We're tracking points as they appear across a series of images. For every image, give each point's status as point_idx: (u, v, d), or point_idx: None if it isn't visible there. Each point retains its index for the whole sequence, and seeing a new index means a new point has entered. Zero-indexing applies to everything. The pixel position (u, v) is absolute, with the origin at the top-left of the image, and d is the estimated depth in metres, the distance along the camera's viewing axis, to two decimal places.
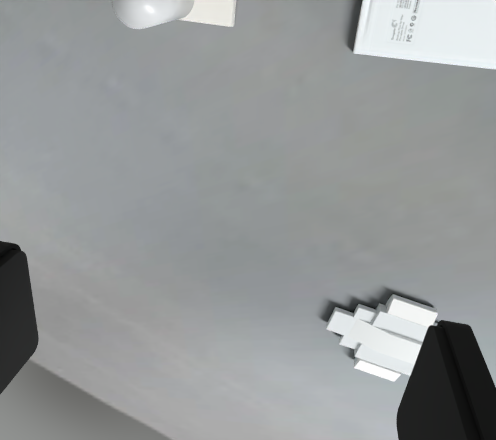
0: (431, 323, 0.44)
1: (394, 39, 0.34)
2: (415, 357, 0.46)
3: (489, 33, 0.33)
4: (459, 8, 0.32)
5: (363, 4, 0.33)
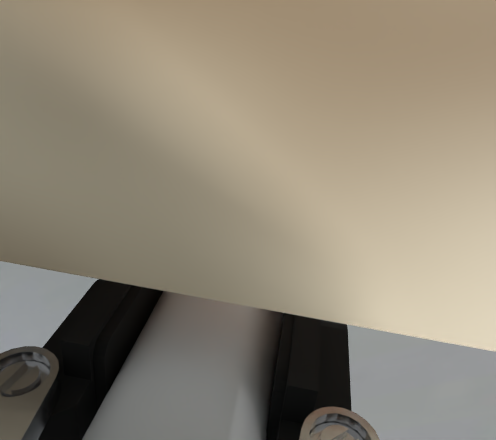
0: None
1: None
2: None
3: None
4: None
5: None
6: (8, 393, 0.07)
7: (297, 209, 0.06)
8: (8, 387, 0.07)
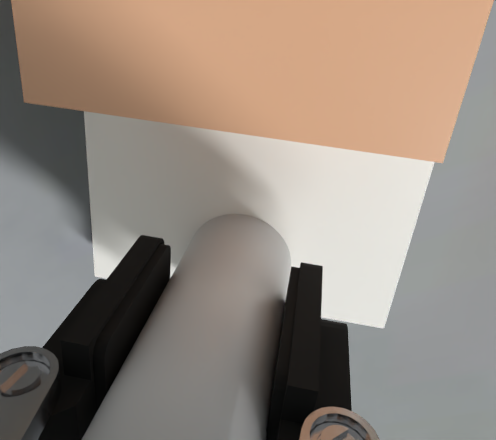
0: None
1: None
2: None
3: None
4: None
5: None
6: (8, 393, 0.07)
7: None
8: (8, 387, 0.07)
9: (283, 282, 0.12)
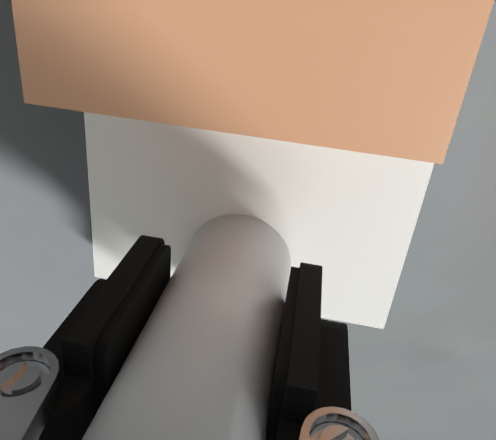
0: None
1: None
2: None
3: None
4: None
5: None
6: (8, 393, 0.07)
7: None
8: (8, 387, 0.07)
9: (283, 283, 0.12)
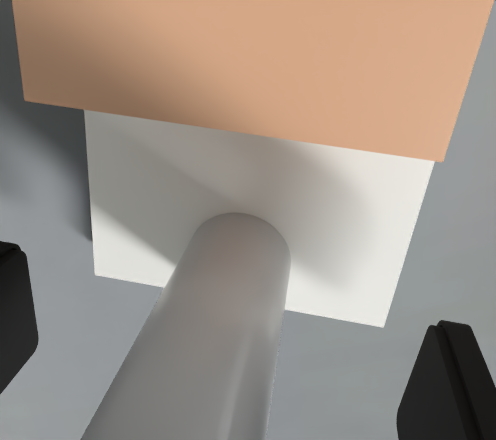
0: None
1: None
2: None
3: None
4: None
5: None
6: None
7: None
8: None
9: (283, 281, 0.12)
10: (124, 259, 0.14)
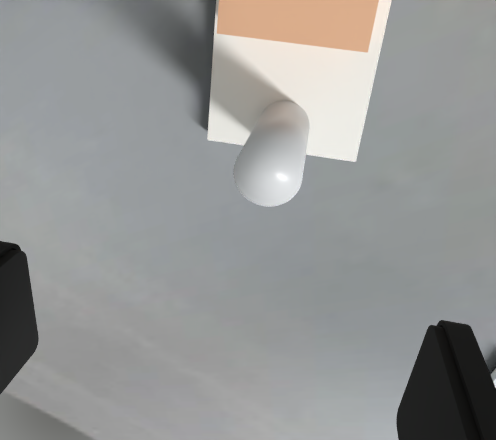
0: None
1: None
2: None
3: None
4: None
5: None
6: None
7: None
8: None
9: (307, 126, 0.25)
10: (224, 129, 0.28)
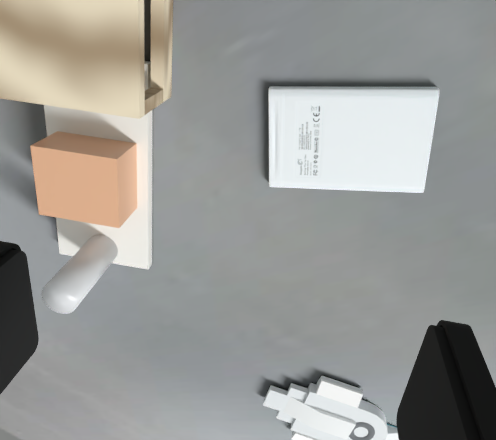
0: (357, 403, 0.48)
1: (302, 174, 0.38)
2: (345, 432, 0.49)
3: (384, 164, 0.36)
4: (354, 146, 0.36)
5: (269, 148, 0.37)
6: None
7: (72, 84, 0.31)
8: None
9: (108, 253, 0.42)
10: (68, 248, 0.45)
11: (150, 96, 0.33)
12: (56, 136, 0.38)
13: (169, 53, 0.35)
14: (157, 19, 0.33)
